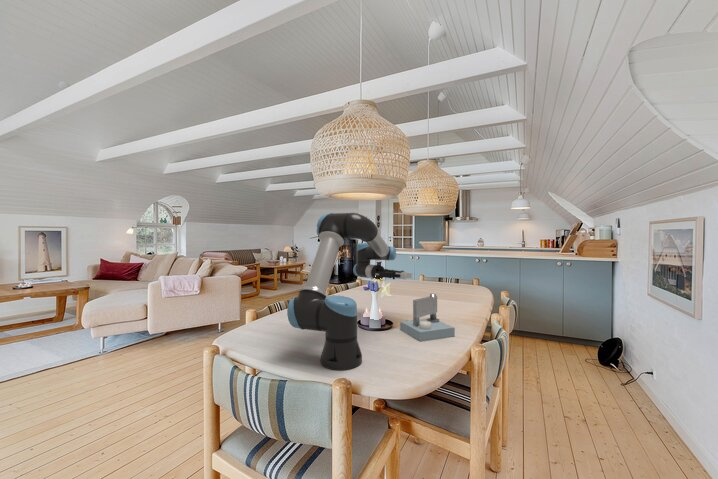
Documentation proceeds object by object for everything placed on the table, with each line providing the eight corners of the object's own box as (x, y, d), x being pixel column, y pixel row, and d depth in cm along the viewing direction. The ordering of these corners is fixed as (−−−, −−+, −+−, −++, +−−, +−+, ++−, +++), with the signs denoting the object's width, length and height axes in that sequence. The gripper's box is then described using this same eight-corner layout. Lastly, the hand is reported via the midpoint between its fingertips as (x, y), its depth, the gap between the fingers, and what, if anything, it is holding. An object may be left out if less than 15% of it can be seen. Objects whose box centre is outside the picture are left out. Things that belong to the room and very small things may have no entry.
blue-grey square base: (455, 336, 140) (455, 326, 140) (420, 341, 134) (420, 330, 134) (432, 325, 157) (432, 316, 157) (400, 329, 150) (400, 320, 150)
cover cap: (432, 328, 138) (433, 323, 138) (422, 329, 137) (422, 324, 137) (427, 325, 143) (427, 320, 143) (417, 326, 142) (417, 321, 142)
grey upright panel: (412, 324, 143) (412, 297, 143) (432, 318, 154) (432, 293, 154) (417, 326, 141) (417, 298, 141) (438, 319, 152) (438, 294, 151)
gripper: (386, 277, 174) (419, 282, 156) (364, 280, 163) (397, 285, 145) (386, 264, 174) (419, 267, 156) (364, 266, 163) (397, 269, 145)
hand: (408, 276), depth 151 cm, fingers open, 4 cm apart
